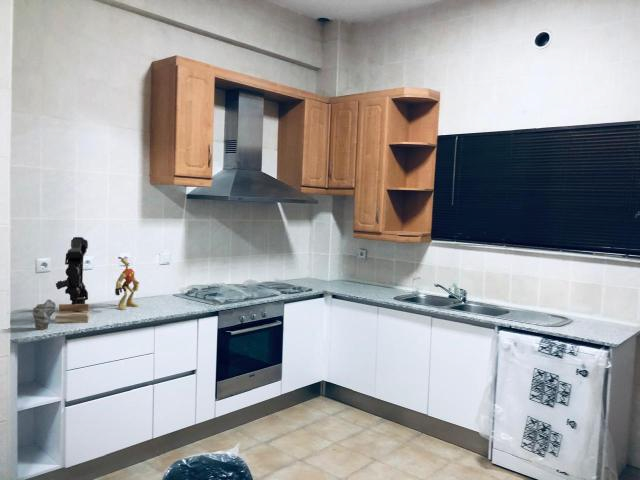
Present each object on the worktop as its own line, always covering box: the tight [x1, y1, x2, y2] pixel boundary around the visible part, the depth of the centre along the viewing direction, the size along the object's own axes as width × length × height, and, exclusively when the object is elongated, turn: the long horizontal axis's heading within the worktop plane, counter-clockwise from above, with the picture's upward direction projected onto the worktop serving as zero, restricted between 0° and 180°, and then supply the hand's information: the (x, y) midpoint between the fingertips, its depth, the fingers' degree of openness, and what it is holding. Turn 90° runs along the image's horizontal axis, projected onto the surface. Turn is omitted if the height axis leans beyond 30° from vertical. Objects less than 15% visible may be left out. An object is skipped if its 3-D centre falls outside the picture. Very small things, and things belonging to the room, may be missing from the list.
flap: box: [58, 303, 90, 312], centre depth 279 cm, size 4×14×1 cm
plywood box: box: [54, 311, 91, 324], centre depth 276 cm, size 10×15×4 cm, turn 108°
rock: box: [32, 299, 57, 330], centre depth 257 cm, size 13×6×15 cm, turn 52°
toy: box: [114, 256, 140, 311], centre depth 310 cm, size 23×9×30 cm, turn 168°
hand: (73, 304), depth 279 cm, fingers closed, pressing on flap
